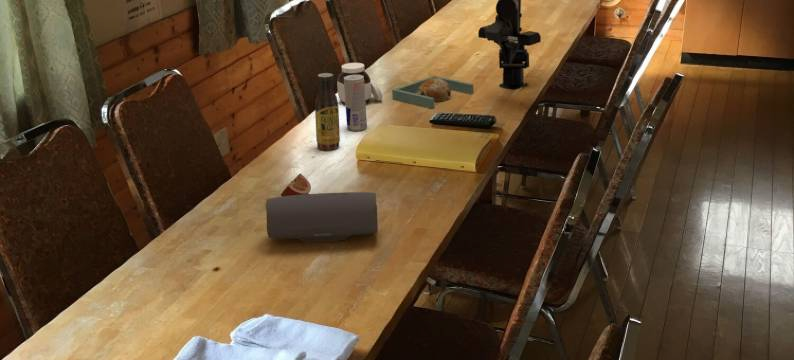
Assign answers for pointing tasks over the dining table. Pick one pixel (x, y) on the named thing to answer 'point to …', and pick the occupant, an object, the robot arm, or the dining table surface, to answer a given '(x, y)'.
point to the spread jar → (369, 84)
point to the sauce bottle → (327, 114)
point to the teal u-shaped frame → (409, 96)
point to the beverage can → (355, 102)
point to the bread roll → (435, 89)
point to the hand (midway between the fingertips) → (508, 64)
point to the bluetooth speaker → (322, 216)
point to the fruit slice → (297, 187)
